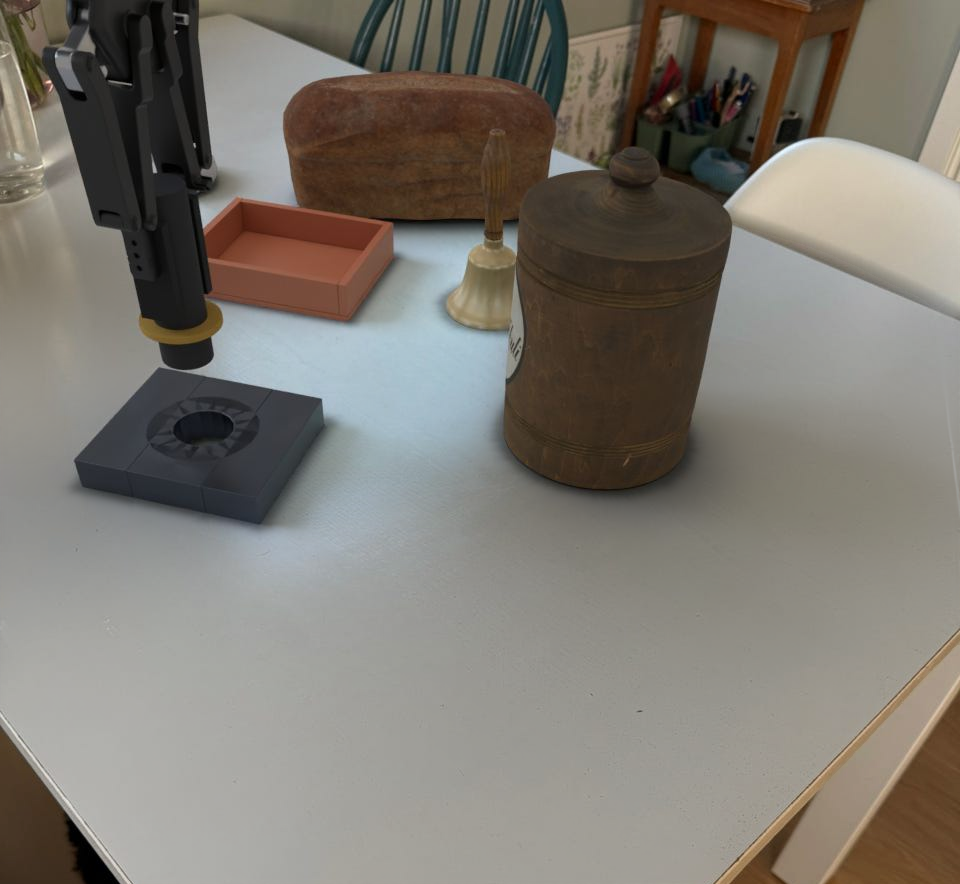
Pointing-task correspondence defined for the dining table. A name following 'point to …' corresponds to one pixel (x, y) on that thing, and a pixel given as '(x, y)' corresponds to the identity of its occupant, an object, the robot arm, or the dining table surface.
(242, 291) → the terracotta tray
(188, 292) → the plug
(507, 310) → the hand bell
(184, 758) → the dining table surface
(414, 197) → the bread
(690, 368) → the wooden container
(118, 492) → the drain plate
